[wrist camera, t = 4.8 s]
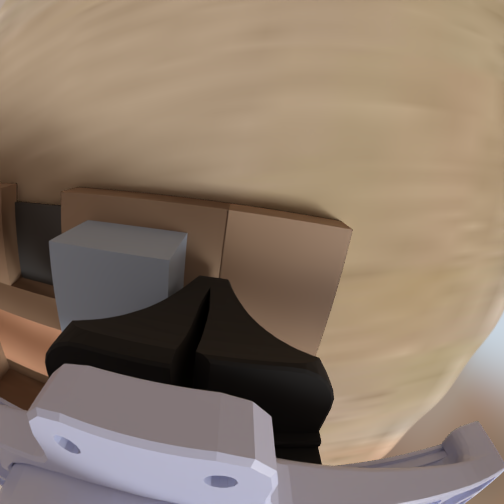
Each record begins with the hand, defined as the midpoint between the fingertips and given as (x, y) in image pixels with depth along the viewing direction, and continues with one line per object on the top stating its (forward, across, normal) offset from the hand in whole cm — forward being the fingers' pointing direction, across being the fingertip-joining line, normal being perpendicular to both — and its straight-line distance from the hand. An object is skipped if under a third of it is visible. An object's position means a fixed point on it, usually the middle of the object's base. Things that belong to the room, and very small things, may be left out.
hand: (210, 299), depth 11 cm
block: (+1, +4, 0) cm, 4 cm away
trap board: (+2, +5, +3) cm, 6 cm away
